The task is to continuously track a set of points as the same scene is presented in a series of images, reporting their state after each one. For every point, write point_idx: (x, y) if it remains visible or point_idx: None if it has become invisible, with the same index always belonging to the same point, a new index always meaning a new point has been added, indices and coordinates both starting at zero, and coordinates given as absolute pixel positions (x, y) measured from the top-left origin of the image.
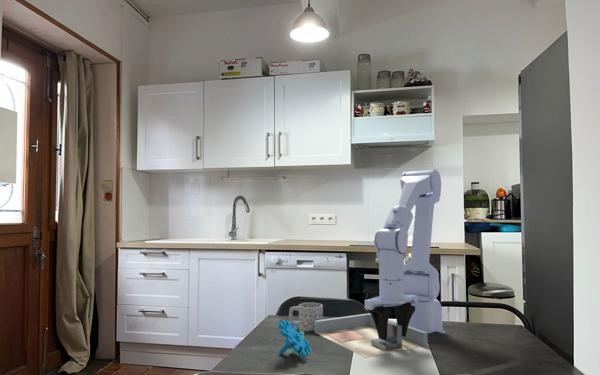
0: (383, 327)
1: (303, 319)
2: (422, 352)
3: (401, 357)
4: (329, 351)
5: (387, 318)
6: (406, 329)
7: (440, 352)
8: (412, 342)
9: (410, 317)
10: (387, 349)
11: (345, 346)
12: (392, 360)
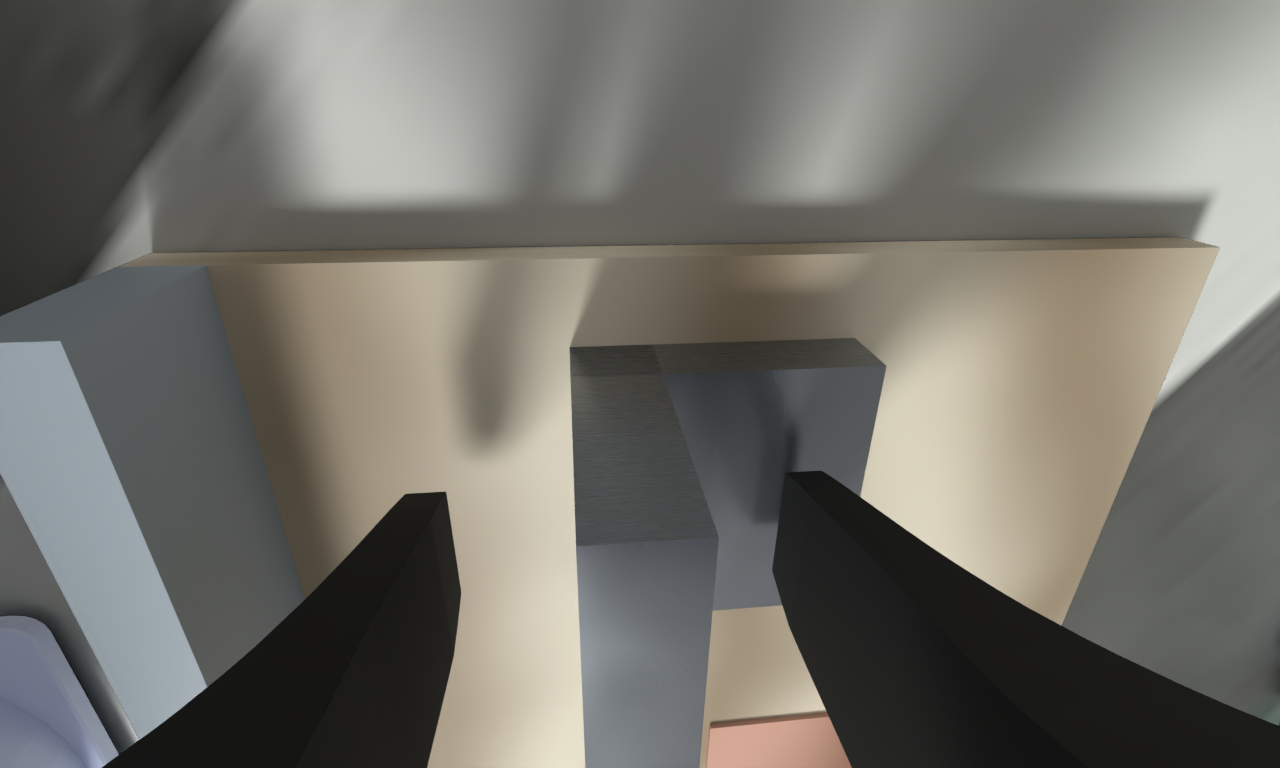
0: (980, 584)
1: None
2: (326, 167)
3: (743, 144)
4: (1153, 595)
5: (1080, 723)
6: (373, 551)
7: (13, 16)
8: (285, 457)
9: (141, 760)
10: (818, 345)
11: (1052, 603)
12: (925, 109)
